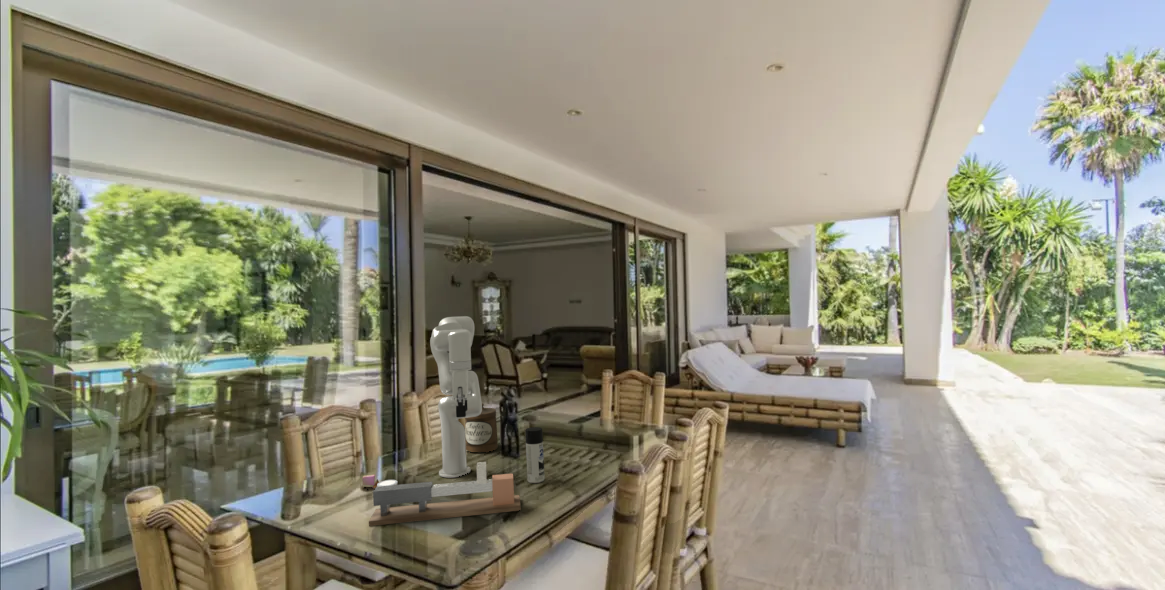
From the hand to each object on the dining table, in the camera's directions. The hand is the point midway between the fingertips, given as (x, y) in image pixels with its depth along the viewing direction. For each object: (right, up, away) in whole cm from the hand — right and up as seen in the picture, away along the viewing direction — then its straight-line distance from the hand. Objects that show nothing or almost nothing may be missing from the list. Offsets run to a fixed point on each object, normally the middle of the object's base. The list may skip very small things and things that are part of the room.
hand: (462, 413), depth 184 cm
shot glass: (-26, -32, -1) cm, 41 cm away
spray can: (+25, -30, +16) cm, 42 cm away
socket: (+16, -28, -8) cm, 33 cm away
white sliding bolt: (+3, -24, -10) cm, 26 cm away
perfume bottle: (-37, -32, +17) cm, 52 cm away
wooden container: (-5, -31, +62) cm, 69 cm away
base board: (-2, -30, -11) cm, 32 cm away
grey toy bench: (-16, -29, -13) cm, 36 cm away
